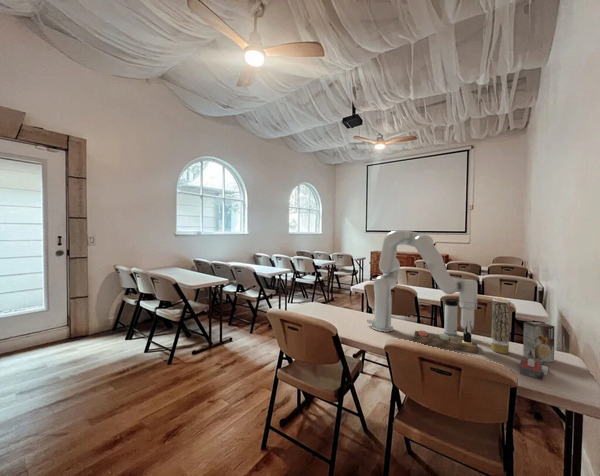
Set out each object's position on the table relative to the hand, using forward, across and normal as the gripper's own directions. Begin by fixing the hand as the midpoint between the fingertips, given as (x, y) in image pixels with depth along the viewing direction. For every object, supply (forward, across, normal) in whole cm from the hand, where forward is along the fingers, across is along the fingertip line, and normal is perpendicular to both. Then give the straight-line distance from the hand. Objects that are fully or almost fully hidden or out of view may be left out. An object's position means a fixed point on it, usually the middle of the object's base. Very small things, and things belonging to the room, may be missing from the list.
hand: (467, 341), depth 136 cm
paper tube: (+4, -3, +14) cm, 15 cm away
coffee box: (+4, -1, +28) cm, 28 cm away
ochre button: (+3, 0, 0) cm, 3 cm away
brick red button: (+2, 0, -20) cm, 20 cm away
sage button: (+2, 0, -10) cm, 10 cm away
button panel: (+3, 0, -10) cm, 11 cm away
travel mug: (+3, -18, -6) cm, 19 cm away
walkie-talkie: (+4, +12, +23) cm, 26 cm away
